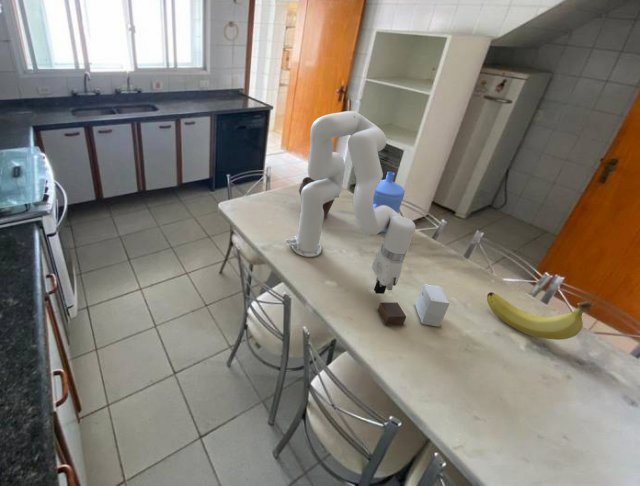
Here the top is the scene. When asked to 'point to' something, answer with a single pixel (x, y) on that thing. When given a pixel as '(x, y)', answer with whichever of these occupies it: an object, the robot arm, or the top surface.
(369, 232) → the robot arm
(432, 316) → the small box
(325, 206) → the case
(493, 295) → the banana
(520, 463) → the top surface
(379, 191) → the water jug
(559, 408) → the top surface
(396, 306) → the walnut block
